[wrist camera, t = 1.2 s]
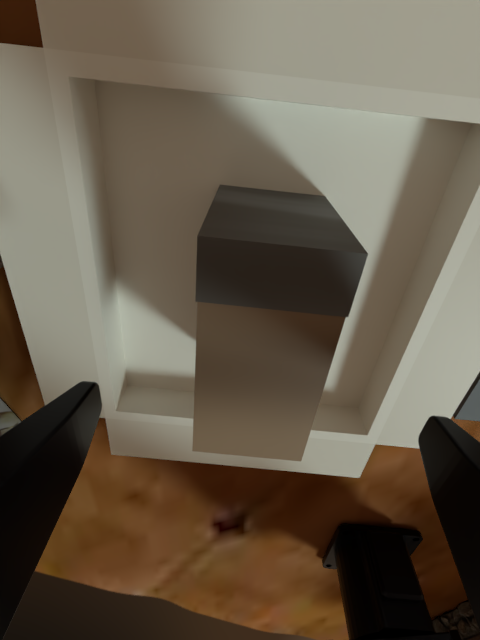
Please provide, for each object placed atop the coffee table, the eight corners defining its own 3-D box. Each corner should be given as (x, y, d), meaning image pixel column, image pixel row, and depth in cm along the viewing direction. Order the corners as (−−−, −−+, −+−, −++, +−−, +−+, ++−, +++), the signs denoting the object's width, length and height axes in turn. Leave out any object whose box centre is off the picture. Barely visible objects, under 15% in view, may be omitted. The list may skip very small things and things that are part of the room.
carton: (396, 447, 22) (410, 482, 20) (76, 416, 21) (57, 449, 19) (634, -1, 10) (725, -26, 8) (-39, -83, 10) (-114, -131, 8)
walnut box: (288, 358, 18) (302, 462, 13) (209, 350, 18) (190, 451, 12) (325, 196, 13) (368, 253, 8) (219, 184, 13) (197, 236, 8)
